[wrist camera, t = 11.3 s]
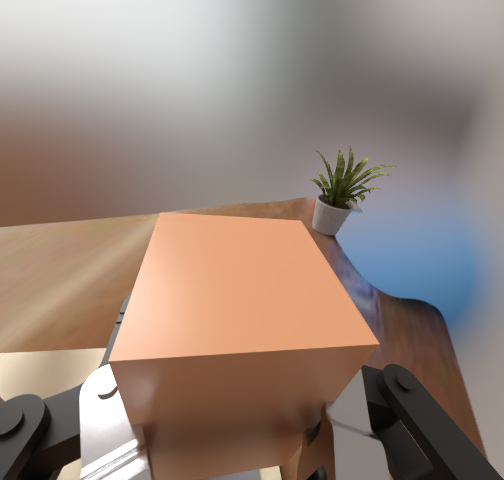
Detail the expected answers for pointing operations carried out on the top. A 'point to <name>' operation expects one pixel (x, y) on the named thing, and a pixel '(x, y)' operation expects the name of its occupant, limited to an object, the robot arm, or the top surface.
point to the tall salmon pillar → (233, 344)
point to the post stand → (67, 377)
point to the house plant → (339, 194)
